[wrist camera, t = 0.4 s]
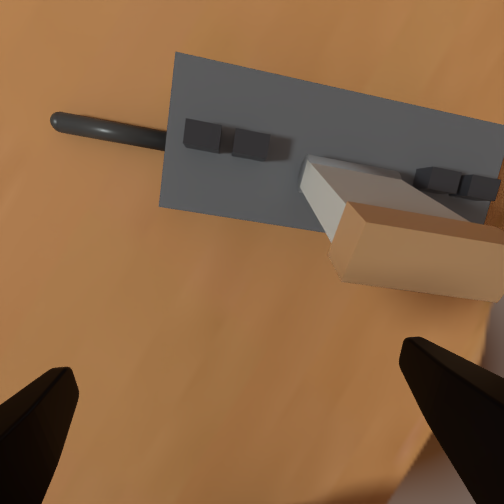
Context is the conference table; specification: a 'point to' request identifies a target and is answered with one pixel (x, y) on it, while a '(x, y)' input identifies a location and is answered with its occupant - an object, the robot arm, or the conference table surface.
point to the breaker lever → (400, 233)
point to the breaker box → (298, 144)
